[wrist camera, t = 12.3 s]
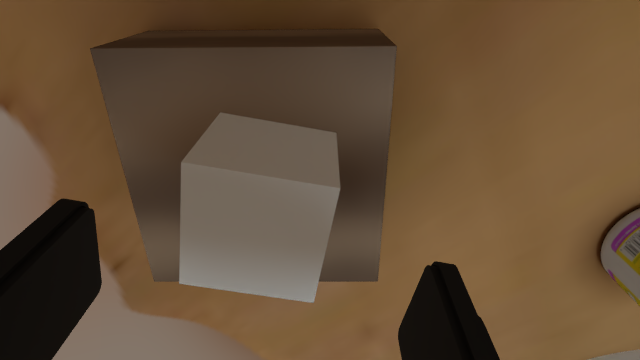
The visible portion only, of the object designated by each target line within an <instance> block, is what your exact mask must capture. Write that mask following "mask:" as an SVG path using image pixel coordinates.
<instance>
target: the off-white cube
mask: <svg viewBox="0 0 640 360" xmlns="http://www.w3.org/2000/svg"><path fill="white" fill-rule="evenodd" d="M339 192H340V176H339V162H338V148H337V134H336V133H335V132H329V131H324V130H318V129H312V128H306V127H301V126H295V125H289V124H284V123H278V122H272V121H266V120H261V119H255V118H249V117H244V116H238V115H232V114H226V113H221V112H220V113H219V115H218V116H217V117H216V119H215V120H214V121H213V122H212V124H211V125H210V126H209V127H208V129H207V130H206V131H205V132H204V134H203V135H202V136H201V138H200V139H199V140H198V141H197V143H196V144H195V145H194V146H193V148H192V149H191V150H190V151H189V153H188V154H187V155H186V157H185V158H184V159H183V160H182V162H181V203H180V270H179V284H185V285H192V286H199V287H206V288H213V289H220V290H227V291H234V292H241V293H248V294H255V295H262V296H269V297H276V298H283V299H290V300H297V301H304V302H311V303H314V299H315V294H316V290H317V286H318V282H319V277H320V273H321V269H322V265H323V260H324V256H325V252H326V248H327V243H328V239H329V235H330V231H331V226H332V222H333V218H334V214H335V209H336V205H337V201H338V197H339Z"/></svg>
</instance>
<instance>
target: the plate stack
mask: <svg viewBox="0 0 640 360" xmlns="http://www.w3.org/2000/svg"><path fill="white" fill-rule="evenodd" d="M588 360H640V350H632V351H625V352H619V353H613V354H609V355H604V356H600V357H595V358H592V359H588Z"/></svg>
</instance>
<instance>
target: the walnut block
mask: <svg viewBox="0 0 640 360" xmlns="http://www.w3.org/2000/svg"><path fill="white" fill-rule="evenodd" d="M396 49H397V46H396V45H395V44H394V43H393V42H392V41H391V40H390V39H388V38H387V37H386V36H385V35H384V34H383V33H382V32H381V31H380V30H379V29H313V30H189V31H146V32H143V33H140V34H136V35H133V36H130V37H127V38H123V39H120V40H117V41H113V42H110V43H107V44H104V45H100V46H97V47H94V48H90V50H91V54H92V57H93V61H94V65H95V68H96V72H97V76H98V79H99V83H100V86H101V90H102V94H103V97H104V101H105V105H106V108H107V112H108V115H109V119H110V123H111V126H112V130H113V134H114V137H115V141H116V144H117V148H118V152H119V155H120V159H121V163H122V166H123V170H124V174H125V177H126V181H127V184H128V188H129V192H130V195H131V199H132V203H133V206H134V210H135V213H136V217H137V221H138V224H139V228H140V232H141V235H142V239H143V242H144V246H145V250H146V253H147V257H148V261H149V264H150V268H151V271H152V275H153V279H154V281H179V270H180V203H181V162H182V160H183V159H184V158H185V157H186V155H187V154H188V153H189V151H190V150H191V149H192V148H193V146H194V145H195V144H196V143H197V141H198V140H199V139H200V138H201V136H202V135H203V134H204V132H205V131H206V130H207V129H208V127H209V126H210V125H211V124H212V122H213V121H214V120H215V119H216V117H217V116H218V115H219V113H220V112H221V113H226V114H232V115H238V116H244V117H249V118H255V119H261V120H266V121H272V122H278V123H284V124H289V125H295V126H301V127H306V128H312V129H318V130H324V131H329V132H335V133H336V134H337V148H338V162H339V176H340V192H339V197H338V201H337V205H336V209H335V214H334V218H333V222H332V226H331V231H330V235H329V239H328V243H327V248H326V252H325V256H324V260H323V265H322V269H321V273H320V277H319V281H378V272H379V259H380V247H381V234H382V222H383V210H384V197H385V185H386V173H387V160H388V148H389V135H390V123H391V111H392V98H393V86H394V74H395V61H396Z"/></svg>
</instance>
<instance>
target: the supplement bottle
mask: <svg viewBox="0 0 640 360" xmlns="http://www.w3.org/2000/svg"><path fill="white" fill-rule="evenodd" d="M601 261H602V264H603V267H604V268H605V270H606V271H607V273H608V274H609V275H610V276H611V277H612V278H613V279H614V280H615V281H616V282H617V284H618V285H619V286H620V287H621V288H622V289H623V290H624V291H625V292H626V293H627V294H628V295H629V296H630V297H631V298H632V299H633V300H634V301H635V302H636V303H637V304H638V305H639V306H640V208H639V209H637V210H635V211H633V212H631V213H629V214H628V215H626V216H625V217H623V218H622V219H621V220H620V221H618V222H617V223H616V224H615V225H614V226H613V227H612V229H611V230H610V231H609V232H608V234H607V236H606V237H605V239H604V242H603V244H602V248H601Z"/></svg>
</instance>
